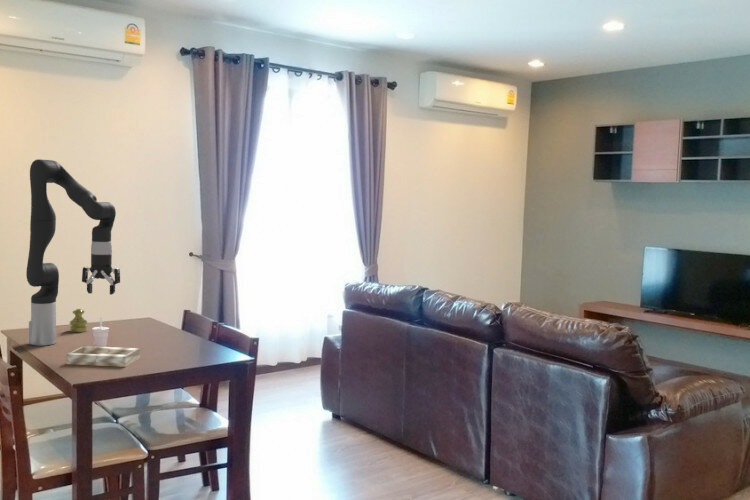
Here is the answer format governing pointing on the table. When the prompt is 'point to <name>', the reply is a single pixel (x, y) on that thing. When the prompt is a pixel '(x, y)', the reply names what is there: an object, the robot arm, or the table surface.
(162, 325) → the table surface
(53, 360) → the table surface
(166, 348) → the table surface
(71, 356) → the cream rectangular tray
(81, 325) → the olive green stacked toy
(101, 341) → the smoothie
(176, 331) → the table surface
